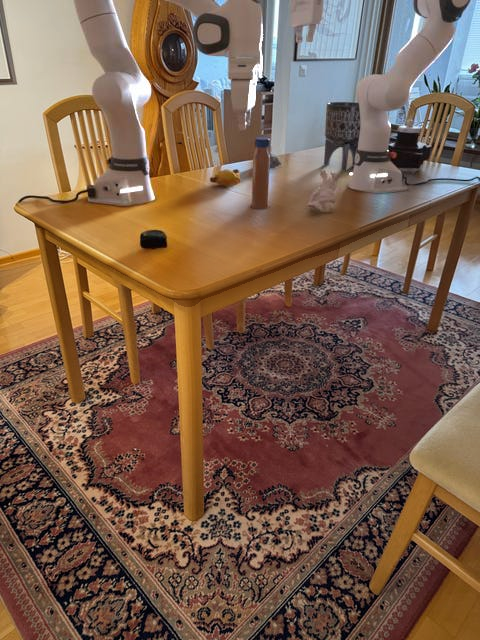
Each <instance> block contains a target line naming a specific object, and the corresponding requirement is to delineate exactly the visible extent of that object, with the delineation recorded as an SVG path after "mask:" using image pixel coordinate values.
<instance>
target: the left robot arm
mask: <svg viewBox="0 0 480 640" xmlns="http://www.w3.org/2000/svg"><path fill="white" fill-rule="evenodd" d="M164 1H166V2H169V3H172V4H174V5H177V6H179V7H181V8H183V9H184V10H186V11H188V12H189V13H190V14H191V15H192V16H193V17H194V18H195V19H196V20H195V21H194V25H193V28H192V38H193V42H194V46H195V47H196V49H197V50H198V51H199V52H200V53H201V54H202V55H203V54H204V55H206V56H209V57H224V58H227V79H228V80H230V95H231V105H232V106H231V107H232V111H233V113H236V114H237V122H238V130H239V131H245V130H246V129H247V127H248V126H250V125H251V115H252V108H253V107H255V105H256V86H257V85H258V83H257V81H258V79H262V77H263V76H262V75H263V73H262V72H263V53H262V41H263V38H264V37H263V35H264V34H263V31H264V29H263V25H264V24H263V10H262V6H261V3H260V1H259V0H226V1H225V2H224V3H223V4H221V5H219V4H218V3H217V2H216V1H215V0H164ZM73 3H74V4H73V5H74V8H75V12H76V16H77V19H78V22H79V25H80V27H81V30H82V33H83V35H84V38H85V41H86V43H87V46H88V49H89V52H90V54H91V56H92V57H93V58H94V59H95V60H96V61H97V63H98V64H99V65H100V67H101V68H102V71H103V72H104V73H103V74H101V75H99V76H98V77H97V78H95V80H94V82H93V84H92V88H91V91H92V92H91V94H92V97H93V100H94V103H95V104H96V105H97V106H98V107H99V109H100V110H101V112H102V115H103V117H104V119H105V122H106V125H107V127H108V132H109V138H110V145H111V153H112V155H111V156H110V157H109V158H108V159H106V163H105V164H106V165H108V168H107V169H106V170H105V171H104V172H102V174H101V175H99V176H98V177H97V178H96V179H95V181H94V183H93V184H87V185H86V189H84V190H80V191H78V192H77V193H76V194H75V197H74V198H72V199H65V200H64V199H54V198H51V197H50V196H46V195H44V196H43V195H34V194H33V195H32V194H31V195H30V194H29V195H25V196H22V197H21V198H20V199H19V200H18V201H17V203H22V202H23V201H24V200H28V199H42V200H48V201H50V202H52V203H56V204H58V203H59V204H66V203H67V204H68V203H73V202H76V201H77V200H79V196H80V195H82V194H85V193H87V201H88V202H89V203H95V204H101V205H110V206H119V207H130V206H134V205H142V204H147V203H150V202H152V201H154V200H155V199H156V196H155V195H154V190H153V187H152V184H151V178H150V162H149V156H148V154H147V144H146V143H147V141H146V132H145V129H144V128H143V126H142V125H141V123H140V119H139V115H138V112H137V109H140V108H142V107H143V106H145V104H147V103H148V102H149V100H150V98H151V95H152V87H151V83H150V82H149V80H148V79H147V78H146V76H145V75H144V74H143V72H142V71H141V68H140V67H139V65H138V63H137V61H136V59H135V57H134V56H133V54H132V52H131V49H130V48H129V45H128V42H127V40H126V37H125V34H124V31H123V27H122V25H121V22H120V19H119V16H118V13H117V10H116V7H115V5H114V1H113V0H73Z"/></svg>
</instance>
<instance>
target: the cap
mask: <svg viewBox="0 0 480 640" xmlns="http://www.w3.org/2000/svg"><path fill="white" fill-rule="evenodd" d="M270 142H271V141H270V138H268V137H266V136H265V137H263V136H262V137H261V136H260V137H259V136H258V137H255V138H254V147H256V148H257V147H260V148H266V147H267V148H269V147H270Z"/></svg>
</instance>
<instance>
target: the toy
mask: <svg viewBox="0 0 480 640" xmlns="http://www.w3.org/2000/svg"><path fill="white" fill-rule="evenodd" d="M240 177H241V174H240V170H239V169H237V168H236V169H233V170H231V169H228V168H226V169H222V170H220V171H219V172H217V174H215V175H214V176H211V177H209V182H210V183H215V184H217V185H219V186H222V187H227V188H231V187H234V186H236V185H238V184H240V183H241V181H242V180H241V178H240Z"/></svg>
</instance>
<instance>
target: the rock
mask: <svg viewBox="0 0 480 640" xmlns="http://www.w3.org/2000/svg"><path fill="white" fill-rule="evenodd" d="M268 153H269V155H270V168H269V170H273V169H275V168H276V167H280V166H282V162H281V159H280V157H279V156H278V155H275V154H273V153H270V152H268Z"/></svg>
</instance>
